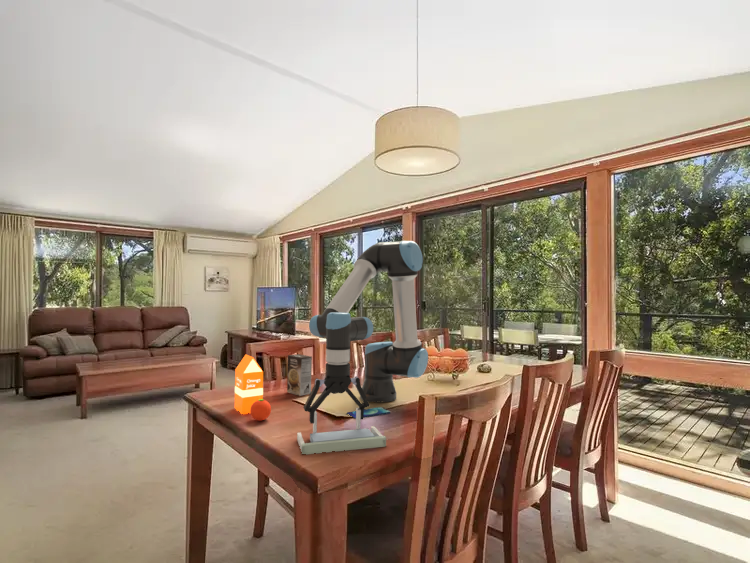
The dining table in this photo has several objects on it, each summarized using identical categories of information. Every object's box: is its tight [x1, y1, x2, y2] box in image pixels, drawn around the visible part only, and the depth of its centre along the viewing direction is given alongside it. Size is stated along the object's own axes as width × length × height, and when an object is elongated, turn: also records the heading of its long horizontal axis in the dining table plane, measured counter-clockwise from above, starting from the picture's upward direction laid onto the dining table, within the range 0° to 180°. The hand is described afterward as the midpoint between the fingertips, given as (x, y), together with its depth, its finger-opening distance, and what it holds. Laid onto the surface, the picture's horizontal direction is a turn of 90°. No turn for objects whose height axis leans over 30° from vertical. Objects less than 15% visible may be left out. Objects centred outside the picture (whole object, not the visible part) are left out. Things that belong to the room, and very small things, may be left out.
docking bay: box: [296, 425, 387, 455], centre depth 122 cm, size 24×12×2 cm, turn 107°
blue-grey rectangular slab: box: [309, 427, 375, 443], centre depth 123 cm, size 18×7×2 cm, turn 107°
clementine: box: [249, 398, 272, 422], centre depth 142 cm, size 8×7×7 cm
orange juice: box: [234, 354, 264, 415], centre depth 154 cm, size 8×9×20 cm
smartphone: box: [346, 406, 391, 420], centre depth 151 cm, size 8×1×15 cm
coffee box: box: [286, 353, 313, 397], centre depth 180 cm, size 9×6×16 cm
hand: (336, 431), depth 128 cm, fingers open, 13 cm apart
